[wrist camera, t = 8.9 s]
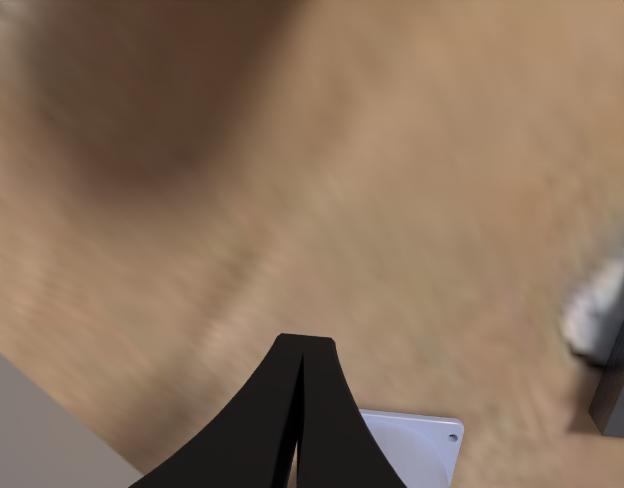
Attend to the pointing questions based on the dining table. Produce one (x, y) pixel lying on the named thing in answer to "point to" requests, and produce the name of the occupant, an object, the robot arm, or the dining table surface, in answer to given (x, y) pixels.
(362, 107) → the dining table surface
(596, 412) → the panel
